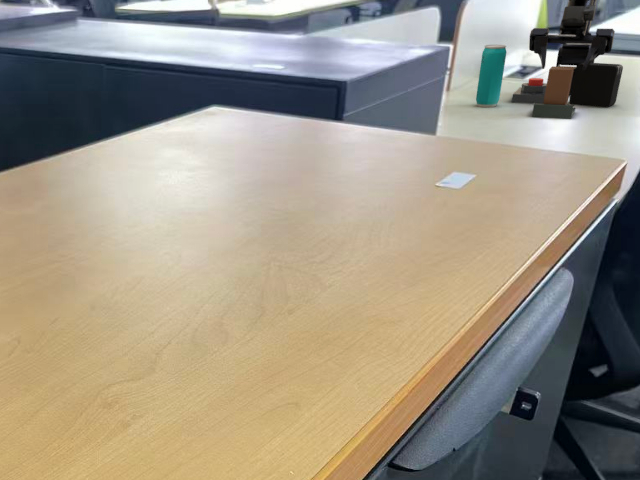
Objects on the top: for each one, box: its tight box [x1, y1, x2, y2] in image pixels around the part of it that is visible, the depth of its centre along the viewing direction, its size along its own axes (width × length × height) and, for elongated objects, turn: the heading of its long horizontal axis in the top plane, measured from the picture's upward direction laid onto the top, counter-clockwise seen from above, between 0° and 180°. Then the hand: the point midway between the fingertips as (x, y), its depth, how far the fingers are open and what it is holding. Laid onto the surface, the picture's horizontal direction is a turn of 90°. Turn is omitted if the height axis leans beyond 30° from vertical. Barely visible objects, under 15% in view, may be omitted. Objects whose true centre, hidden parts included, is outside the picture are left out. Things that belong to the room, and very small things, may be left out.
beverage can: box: [475, 44, 507, 108], centre depth 224 cm, size 6×6×15 cm
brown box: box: [543, 65, 575, 105], centre depth 211 cm, size 5×5×11 cm
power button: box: [527, 77, 545, 86], centre depth 231 cm, size 4×4×2 cm
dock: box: [531, 103, 576, 120], centre depth 213 cm, size 8×9×3 cm
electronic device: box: [568, 62, 624, 108], centre depth 221 cm, size 4×10×10 cm, turn 44°
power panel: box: [511, 82, 547, 104], centre depth 232 cm, size 12×9×4 cm
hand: (563, 68), depth 212 cm, fingers open, 9 cm apart
